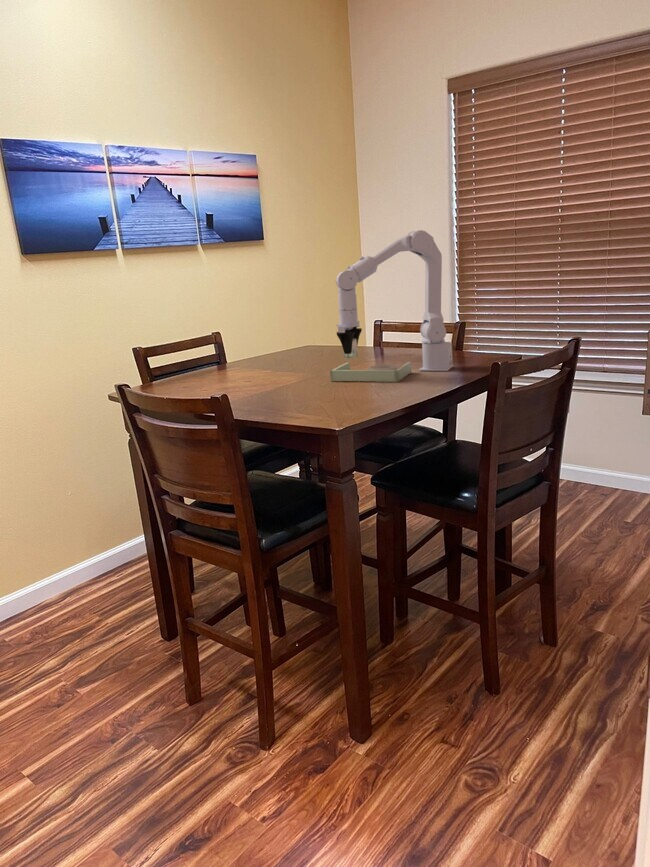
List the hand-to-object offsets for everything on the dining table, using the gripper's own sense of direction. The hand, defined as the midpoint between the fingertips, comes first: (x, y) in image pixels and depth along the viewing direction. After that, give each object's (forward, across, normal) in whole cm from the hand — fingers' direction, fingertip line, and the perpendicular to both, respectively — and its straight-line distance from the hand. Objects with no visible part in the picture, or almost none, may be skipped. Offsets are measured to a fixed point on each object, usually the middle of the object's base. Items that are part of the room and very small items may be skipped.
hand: (350, 352), depth 209 cm
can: (+2, 0, 0) cm, 2 cm away
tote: (+8, +1, +7) cm, 11 cm away
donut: (+6, -3, +9) cm, 11 cm away
